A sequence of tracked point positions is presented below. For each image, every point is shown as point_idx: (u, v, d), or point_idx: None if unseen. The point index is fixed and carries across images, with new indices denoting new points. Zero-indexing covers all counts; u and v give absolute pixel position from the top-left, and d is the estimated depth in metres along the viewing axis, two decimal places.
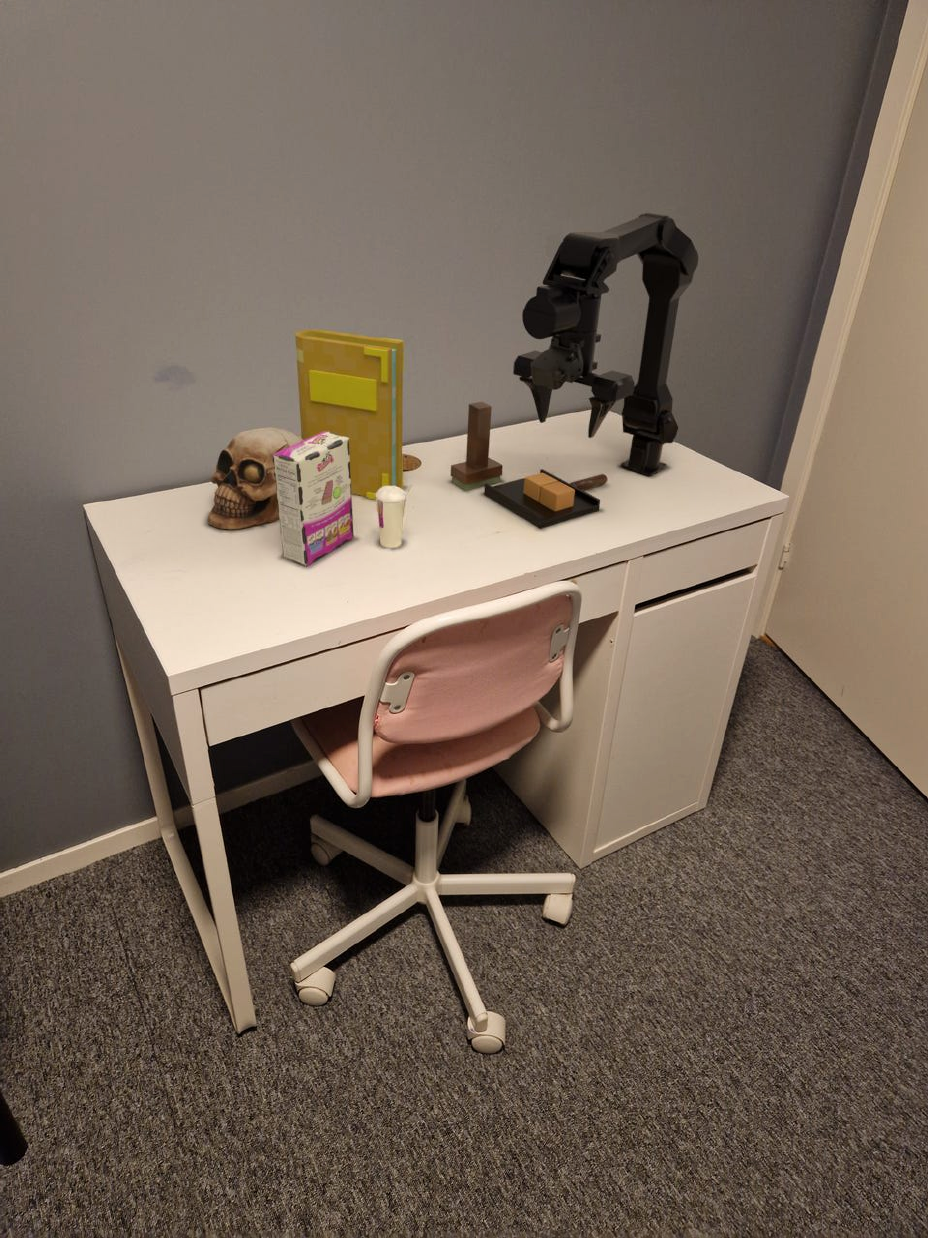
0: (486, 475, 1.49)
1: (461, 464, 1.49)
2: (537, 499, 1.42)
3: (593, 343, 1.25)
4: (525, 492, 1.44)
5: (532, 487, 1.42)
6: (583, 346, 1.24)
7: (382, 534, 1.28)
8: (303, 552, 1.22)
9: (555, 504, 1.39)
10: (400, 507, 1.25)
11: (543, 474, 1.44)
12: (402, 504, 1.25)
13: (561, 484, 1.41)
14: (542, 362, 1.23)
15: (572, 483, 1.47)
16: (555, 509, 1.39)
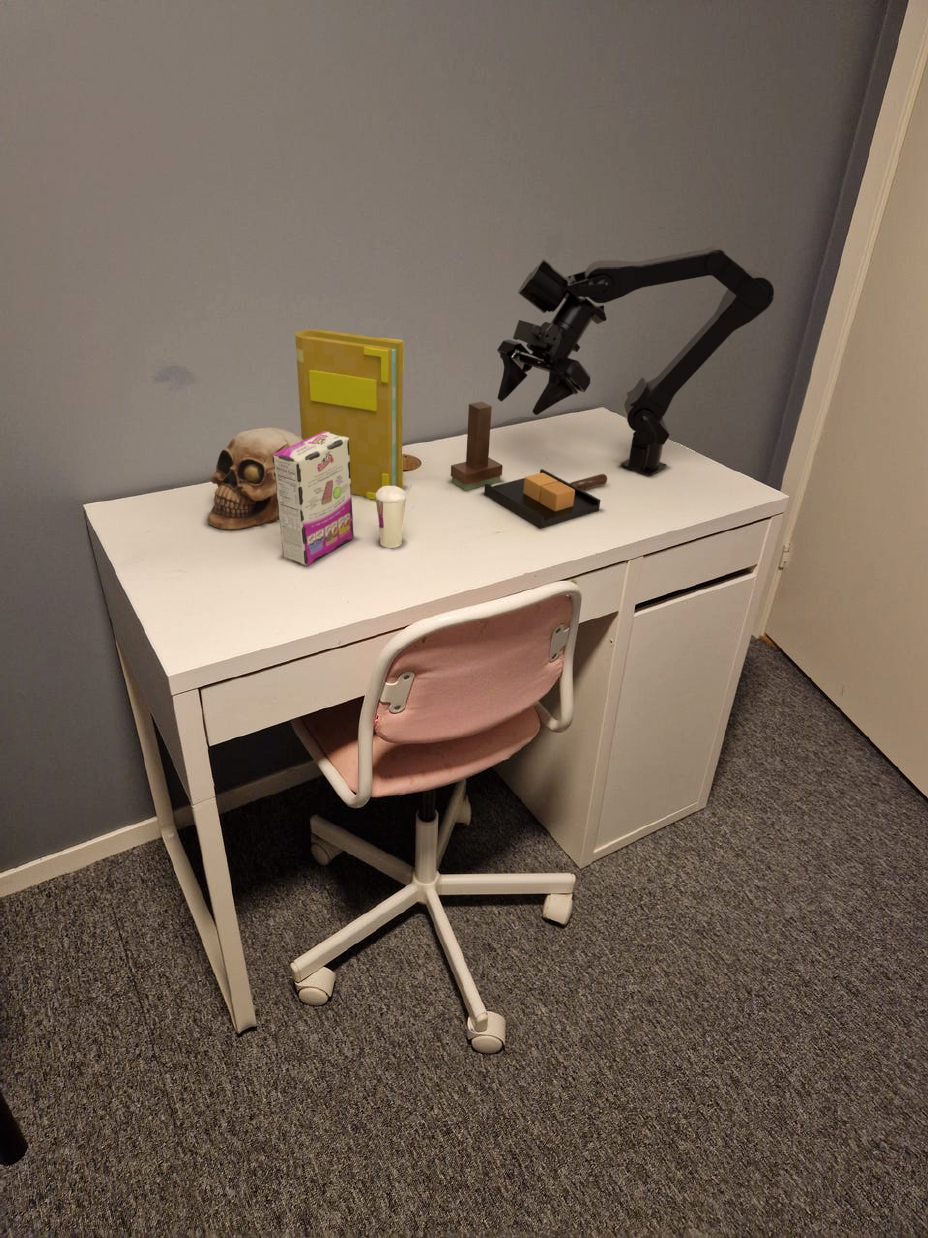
0: (486, 475, 1.49)
1: (461, 464, 1.49)
2: (537, 499, 1.42)
3: (572, 342, 1.45)
4: (525, 492, 1.44)
5: (532, 487, 1.42)
6: (564, 336, 1.43)
7: (382, 534, 1.28)
8: (303, 552, 1.22)
9: (555, 504, 1.39)
10: (400, 507, 1.25)
11: (543, 474, 1.44)
12: (402, 504, 1.25)
13: (561, 484, 1.41)
14: None
15: (572, 483, 1.47)
16: (555, 509, 1.39)
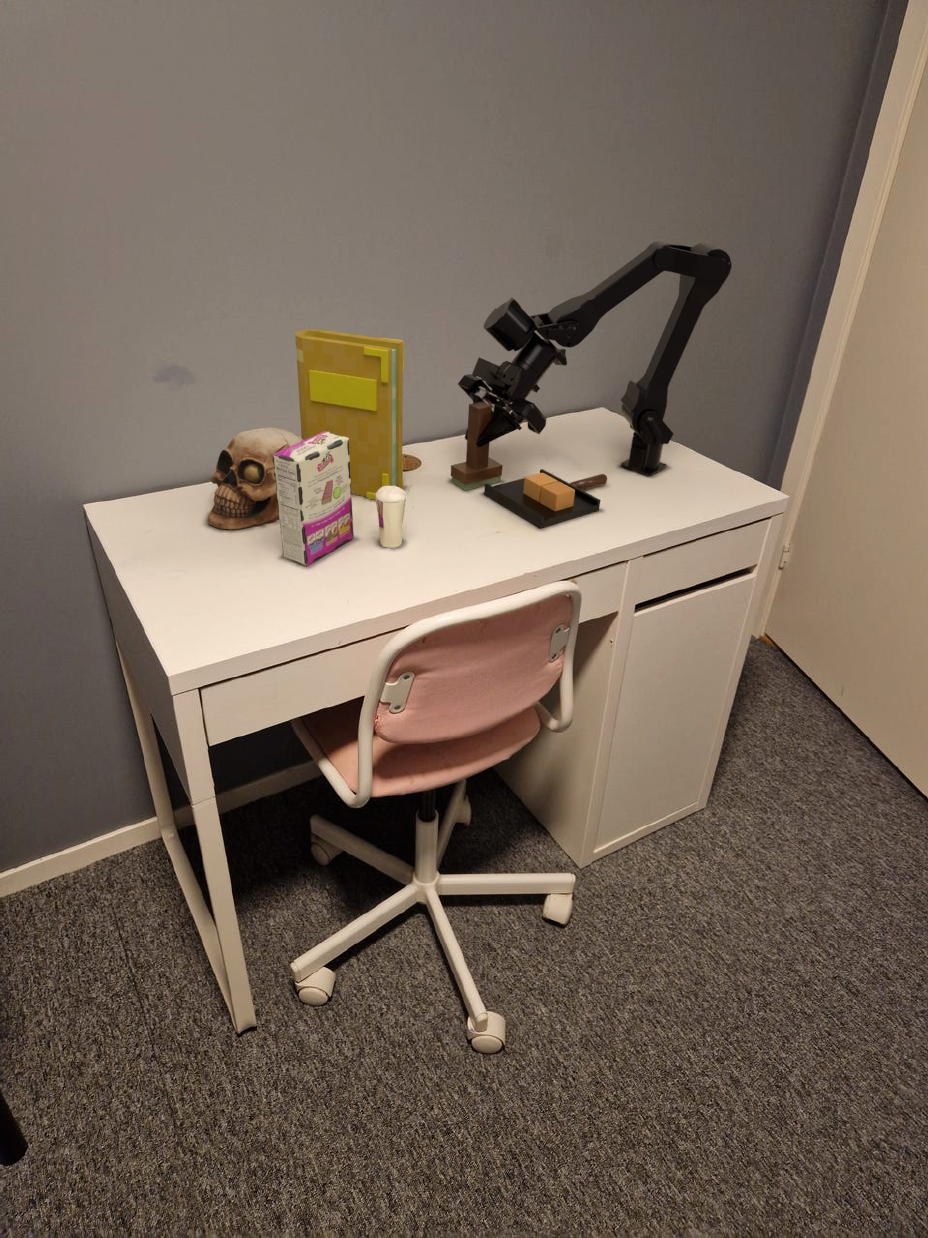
0: (486, 475, 1.49)
1: (461, 464, 1.49)
2: (537, 499, 1.42)
3: (531, 383, 1.44)
4: (525, 492, 1.44)
5: (532, 487, 1.42)
6: (523, 376, 1.43)
7: (382, 534, 1.28)
8: (303, 552, 1.22)
9: (555, 504, 1.39)
10: (400, 507, 1.25)
11: (543, 474, 1.44)
12: (402, 504, 1.25)
13: (561, 484, 1.41)
14: None
15: (572, 483, 1.47)
16: (555, 509, 1.39)
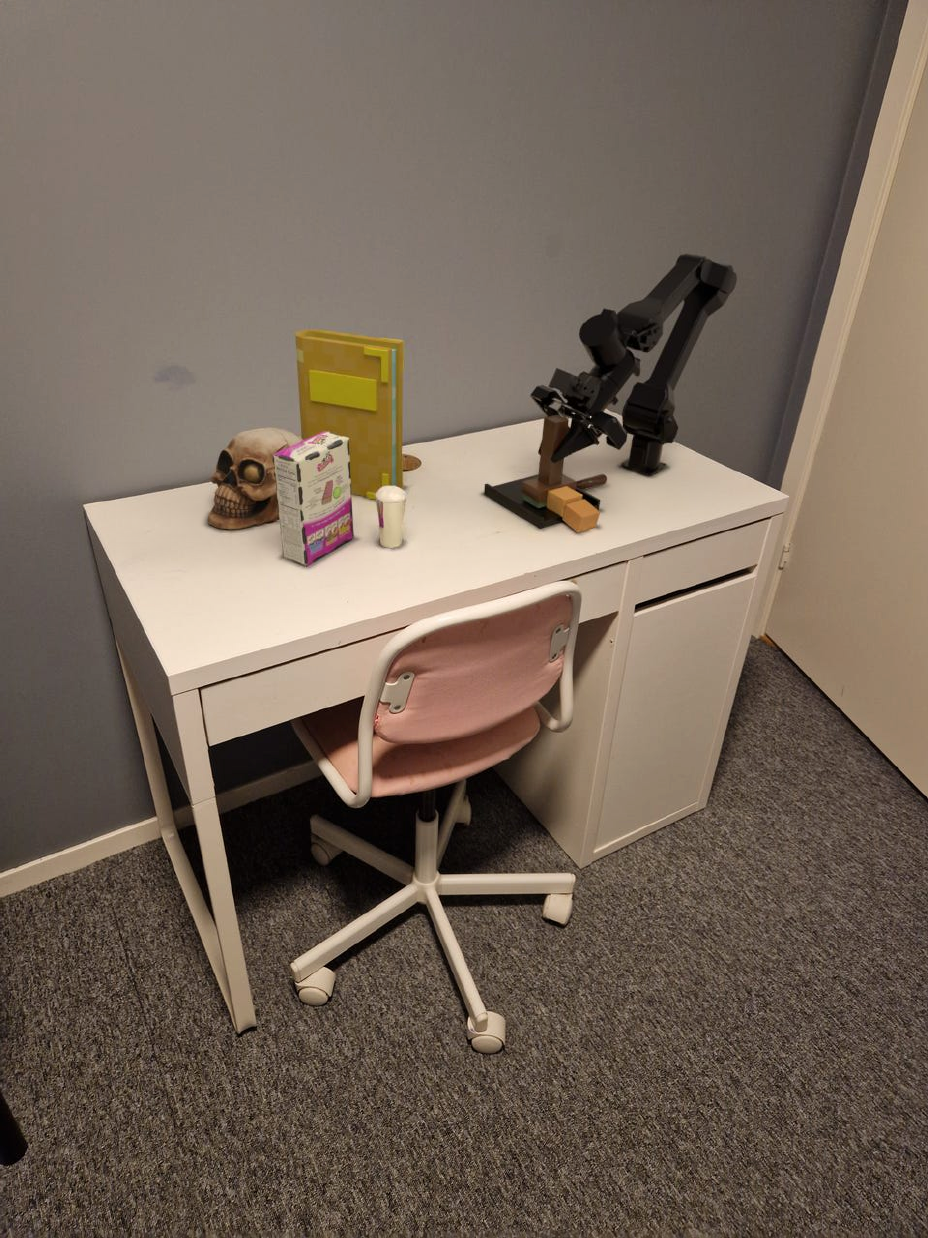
0: None
1: (533, 480, 1.41)
2: (561, 514, 1.38)
3: (610, 395, 1.36)
4: (548, 507, 1.40)
5: (556, 501, 1.38)
6: (602, 388, 1.35)
7: (382, 534, 1.28)
8: (303, 552, 1.22)
9: (579, 526, 1.35)
10: (400, 507, 1.25)
11: (567, 488, 1.40)
12: (402, 504, 1.25)
13: (586, 503, 1.37)
14: None
15: None
16: (578, 530, 1.36)
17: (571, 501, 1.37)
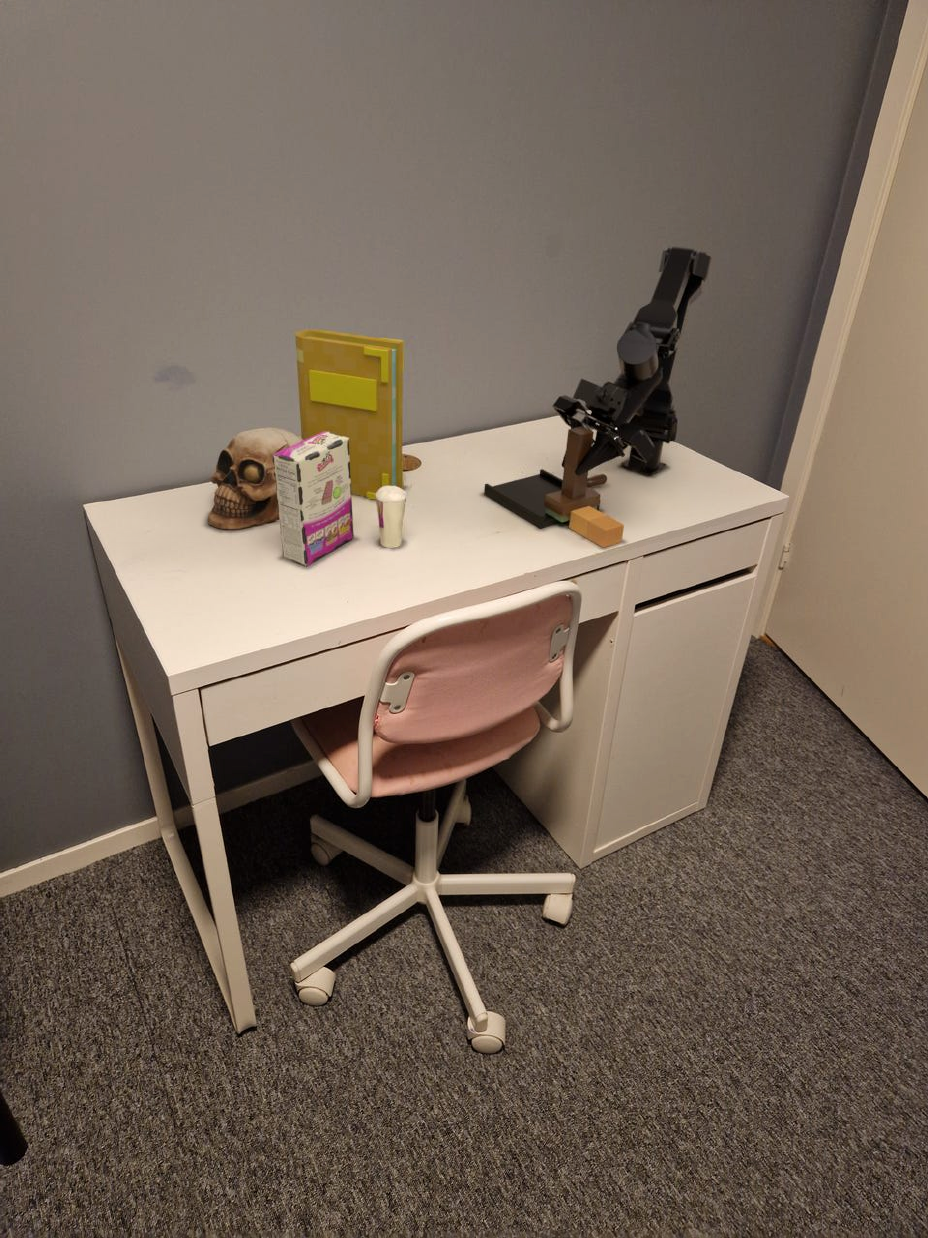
0: (583, 505, 1.37)
1: (556, 493, 1.38)
2: (584, 535, 1.35)
3: (636, 406, 1.32)
4: (571, 527, 1.37)
5: (580, 522, 1.35)
6: (628, 399, 1.31)
7: (382, 534, 1.28)
8: (303, 552, 1.22)
9: (604, 540, 1.31)
10: (400, 507, 1.25)
11: (590, 508, 1.37)
12: (402, 504, 1.25)
13: (609, 518, 1.34)
14: None
15: None
16: (603, 545, 1.32)
17: None
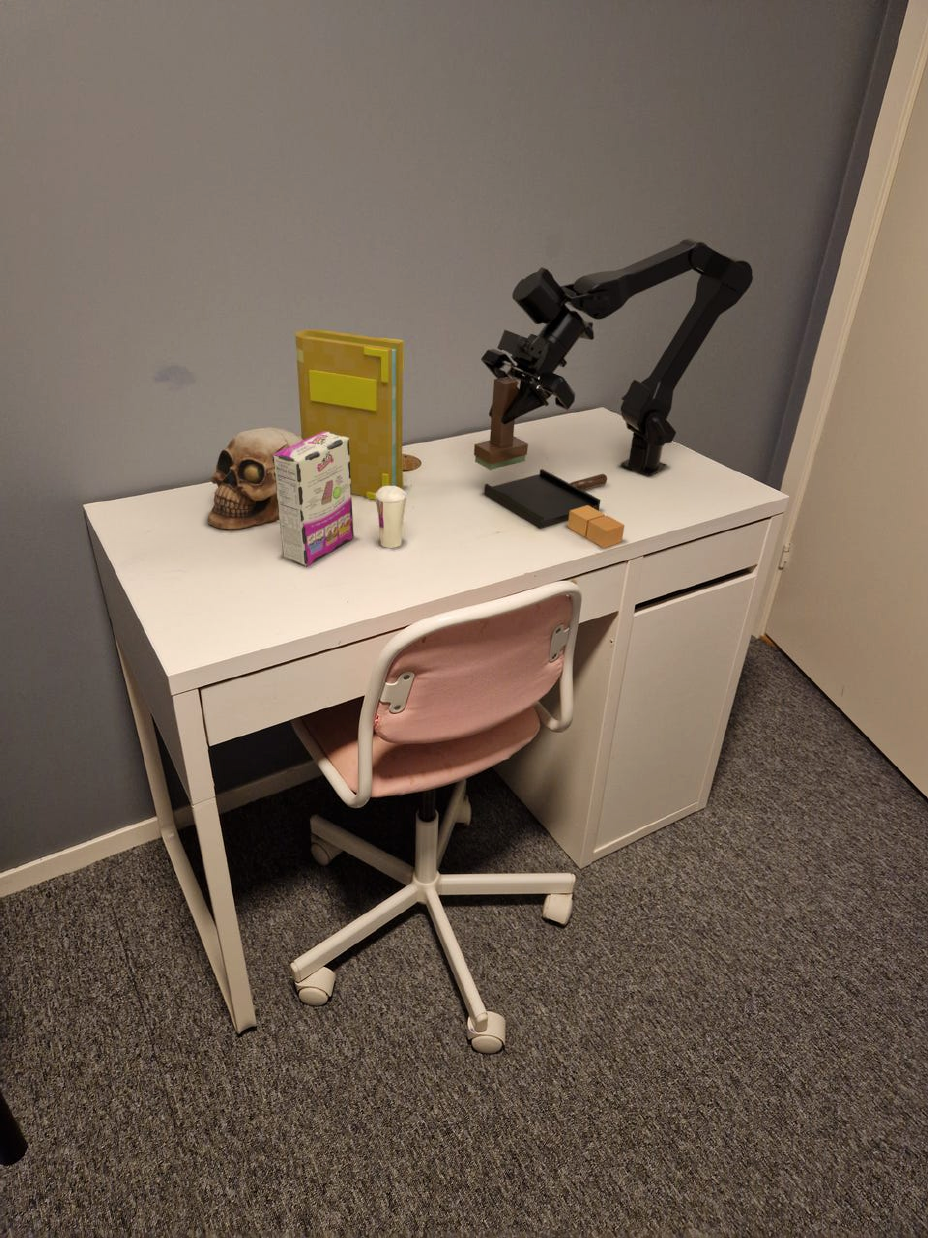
0: (511, 454, 1.43)
1: (485, 443, 1.43)
2: (583, 534, 1.35)
3: (559, 357, 1.38)
4: (569, 526, 1.37)
5: (578, 521, 1.35)
6: (550, 350, 1.37)
7: (382, 534, 1.28)
8: (303, 552, 1.22)
9: (604, 540, 1.31)
10: (400, 507, 1.25)
11: (589, 507, 1.37)
12: (402, 504, 1.25)
13: (609, 518, 1.34)
14: None
15: (572, 483, 1.47)
16: (604, 545, 1.32)
17: None
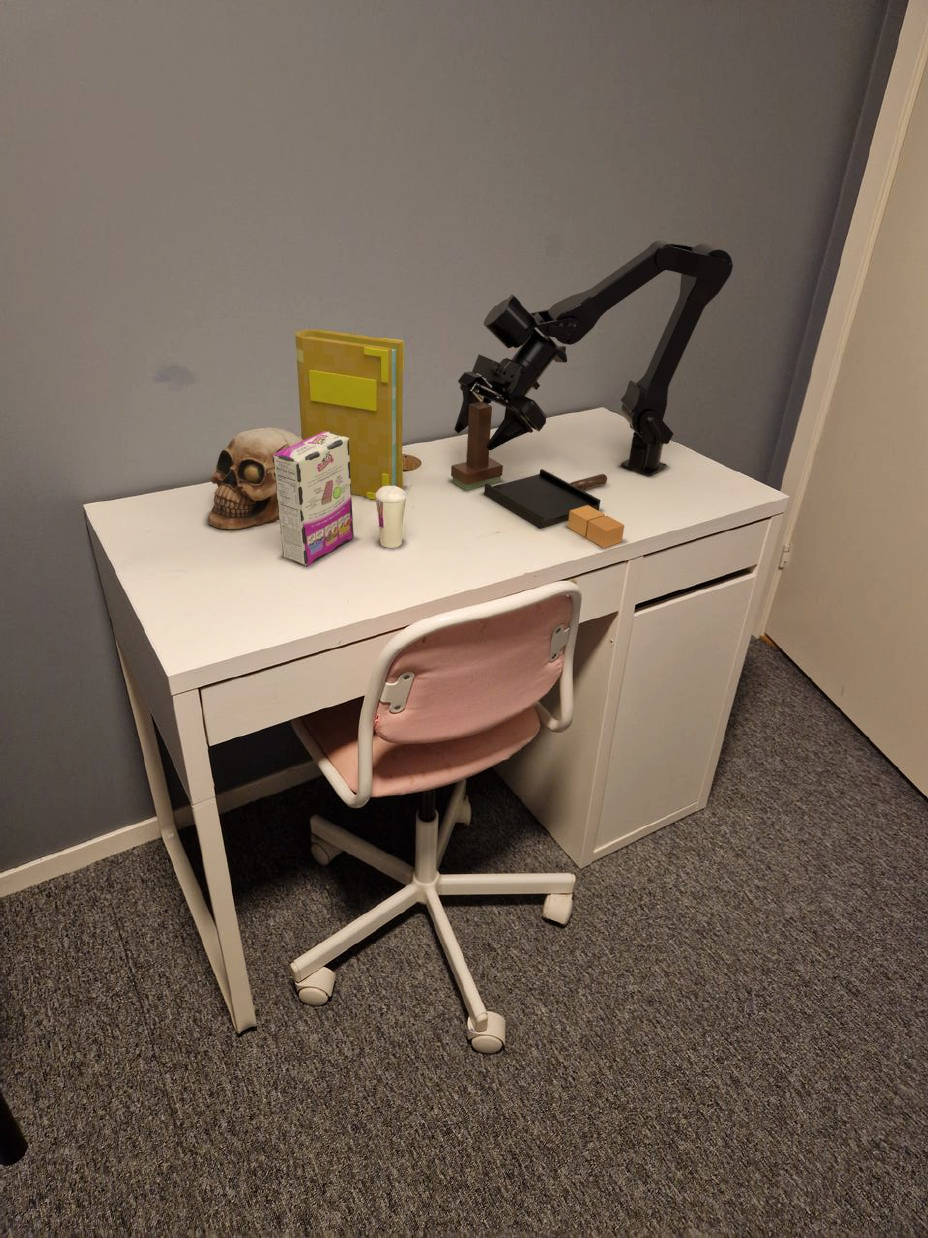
0: (486, 475, 1.49)
1: (461, 464, 1.49)
2: (583, 534, 1.35)
3: (531, 380, 1.44)
4: (569, 526, 1.37)
5: (578, 521, 1.35)
6: (523, 373, 1.43)
7: (382, 534, 1.28)
8: (303, 552, 1.22)
9: (604, 540, 1.31)
10: (400, 507, 1.25)
11: (589, 508, 1.37)
12: (402, 504, 1.25)
13: (609, 518, 1.34)
14: None
15: (572, 483, 1.47)
16: (604, 545, 1.32)
17: None
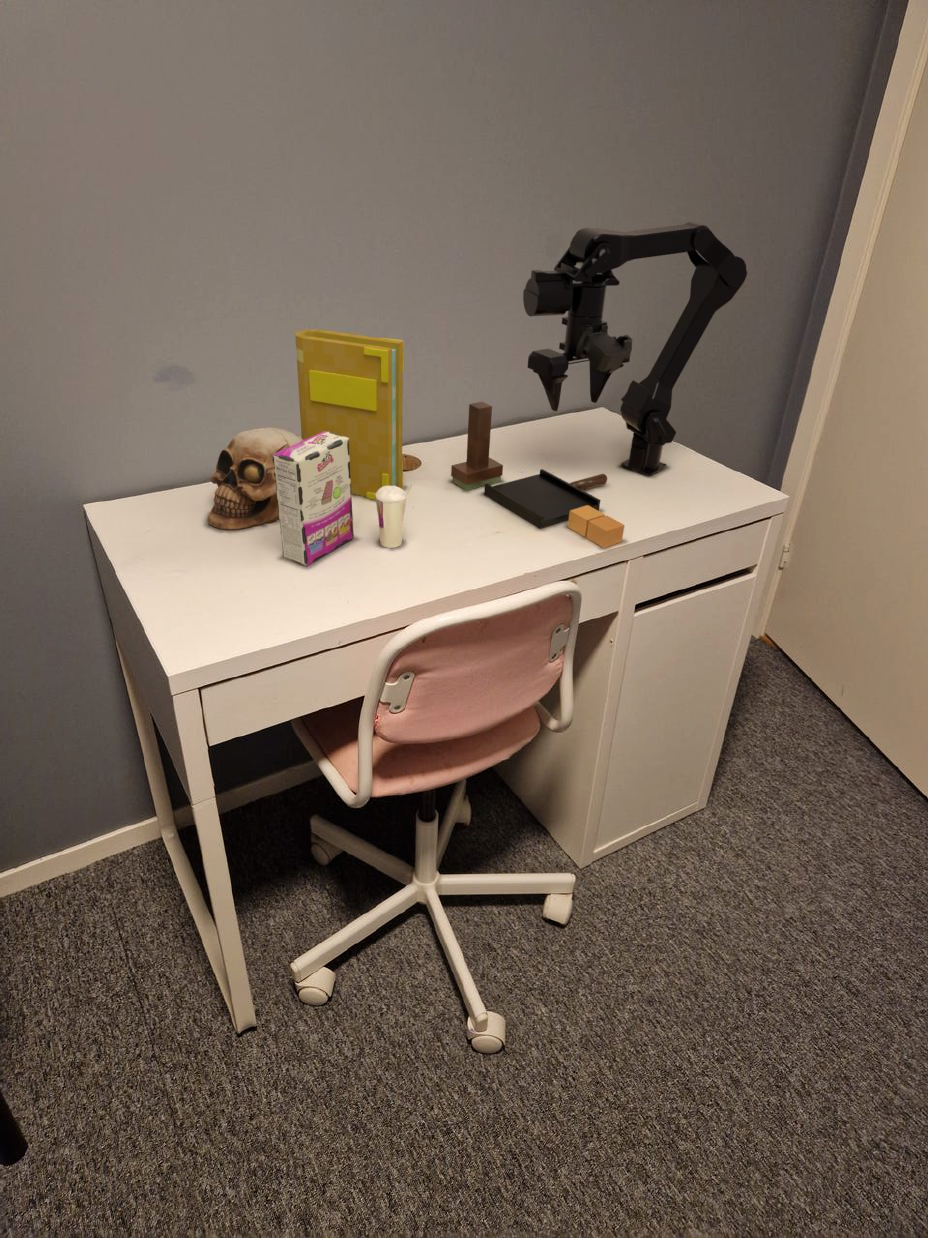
0: (486, 475, 1.49)
1: (461, 464, 1.49)
2: (583, 534, 1.35)
3: None
4: (569, 526, 1.37)
5: (578, 521, 1.35)
6: None
7: (382, 534, 1.28)
8: (303, 552, 1.22)
9: (604, 540, 1.31)
10: (400, 507, 1.25)
11: (589, 507, 1.37)
12: (402, 504, 1.25)
13: (609, 518, 1.34)
14: (609, 349, 1.36)
15: (572, 483, 1.47)
16: (604, 545, 1.32)
17: None
